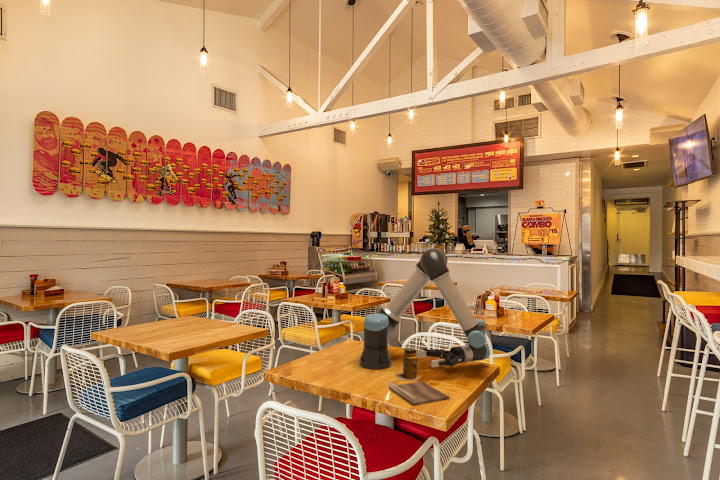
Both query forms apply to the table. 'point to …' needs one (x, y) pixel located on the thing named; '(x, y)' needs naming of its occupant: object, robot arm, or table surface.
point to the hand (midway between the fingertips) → (422, 359)
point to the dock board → (418, 392)
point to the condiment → (409, 365)
